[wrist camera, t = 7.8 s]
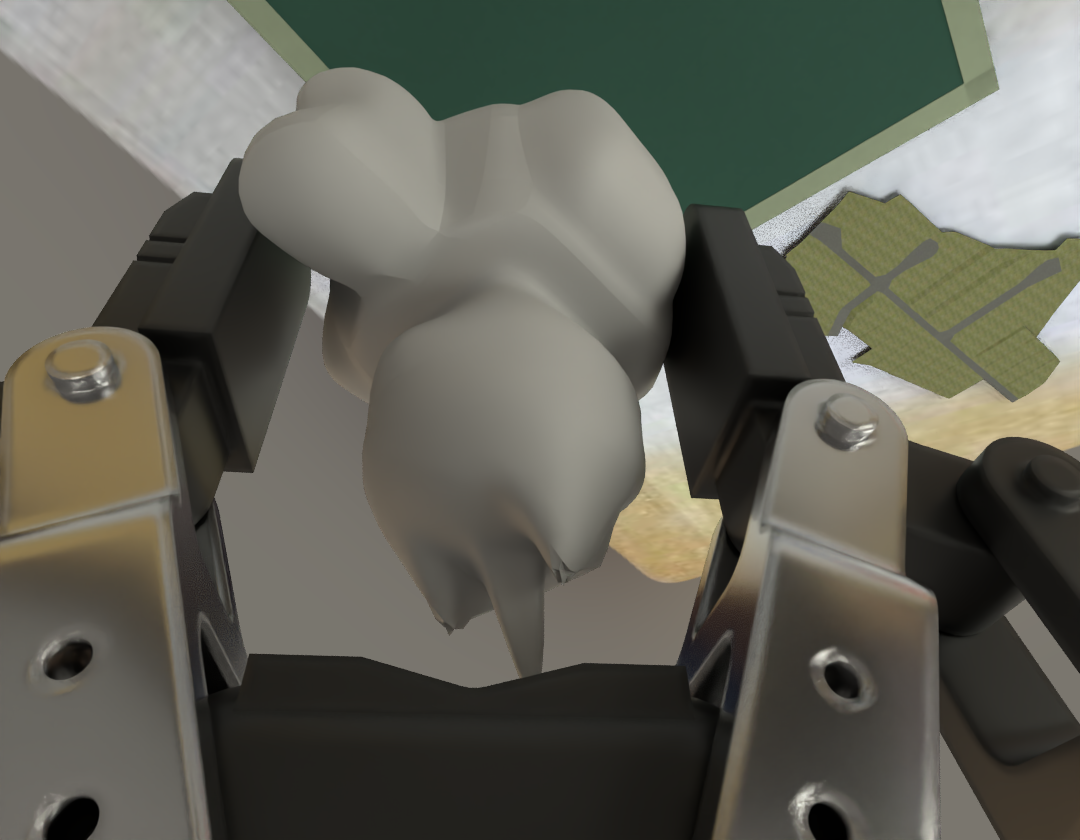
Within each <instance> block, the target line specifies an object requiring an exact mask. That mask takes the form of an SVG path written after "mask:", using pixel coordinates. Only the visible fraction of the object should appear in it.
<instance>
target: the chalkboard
mask: <svg viewBox="0 0 1080 840" xmlns="http://www.w3.org/2000/svg"><path fill="white" fill-rule="evenodd" d="M227 1H228V2H229V3H230V4H231V5H232V6H233V7H234V9H235V10H236V11H237V12H238V13H239V14H240V15H241V16H242V17H243V18H244V19H245V20H246V21H247V22H248V23H249V24H250V25H251V26H252V27H253V28H254V29H255V30H256V31H257V32H258V33H259V34H260V35H261V36H262V38H263V39H264V40H265V41H266V42H267V43H268V44H269V45H270V46H271V47H272V48H273V49H274V50H275V51H276V52H277V53H278V54H279V55H280V56H281V57H282V58H283V59H284V60H285V61H286V62H287V63H288V64H289V66H290V67H291V68H292V69H293V70H294V71H295V72H296V73H297V74H298V75H299V76H300V77H301V78H302V79H303V80H304V81H305V82H307V81H308V80H309V79H310V78H312V77H313V76H315V75H316V74H318V73H320V72H323V71H327V70H331V69H335V68H351V67H355V68H359V69H364V70H368V71H371V72H374V73H377V74H380V75H383V76H385V77H387V78H389V79H390V80H392V81H394V82H396V83H397V84H399V85H400V86H401V87H403V88H404V89H405V90H406V91H408V92H409V93H410V94H411V95H412V96H413V97H414V98H415V99H416V100H417V101H418V102H419V103H420V104H421V105H422V106H423V108H424V109H425V110H426V111H427V113H428V114H429V116H430V117H431V118H432V119H433V120H435V121H441V120H445V119H447V118H450V117H453V116H456V115H458V114H461V113H464V112H467V111H470V110H474V109H477V108H480V107H484V106H488V105H492V104H515V105H522V104H525V103H528V102H530V101H533V100H535V99H538V98H540V97H543V96H545V95H547V94H550V93H553V92H556V91H560V90H569V89H570V90H583V91H587V92H590V93H593V94H595V95H596V96H598V97H600V98H601V99H603V100H604V101H605V102H607V103H608V104H609V105H610V106H611V107H612V108H613V109H614V110H615V111H616V112H617V113H618V114H619V115H620V117H621V118H622V119H623V120H624V122H625V123H626V124H627V125H628V127H629V128H630V129H631V130H632V132H633V133H634V134H635V136H636V137H637V138H638V139H639V141H640V142H641V143H642V144H643V146H644V147H645V148H646V149H647V151H648V152H649V153H650V154H651V156H652V157H653V158H654V159H655V161H656V162H657V164H658V165H659V166H660V168H661V169H662V171H663V172H664V174H665V176H666V178H667V179H668V181H669V183H670V185H671V188H672V190H673V192H674V193H675V195H676V197H677V199H678V201H679V204H680V207H681V210H682V214H684V212H685V210H686V208H687V207H688V206H689V205H690V204H702V205H712V206H723V207H733V208H741V209H742V210H743V211H744V212H745V214H746V217H747V219H748V222H749V224H750V227H751V229H752V230H753V229H754V228H756V227H758V226H760V225H761V224H763V223H765V222H767V221H768V220H770V219H772V218H774V217H775V216H777V215H779V214H781V213H782V212H784V211H786V210H788V209H789V208H791V207H793V206H795V205H796V204H798V203H800V202H802V201H804V200H805V199H807V198H809V197H811V196H812V195H814V194H816V193H818V192H819V191H821V190H823V189H825V188H826V187H828V186H830V185H832V184H833V183H835V182H837V181H839V180H840V179H842V178H844V177H846V176H848V175H849V174H851V173H853V172H855V171H856V170H858V169H860V168H862V167H863V166H865V165H867V164H869V163H870V162H872V161H874V160H876V159H877V158H879V157H881V156H883V155H884V154H886V153H888V152H890V151H891V150H893V149H895V148H897V147H899V146H900V145H902V144H904V143H906V142H907V141H909V140H911V139H913V138H914V137H916V136H918V135H920V134H921V133H923V132H925V131H927V130H928V129H930V128H932V127H934V126H935V125H937V124H939V123H941V122H943V121H944V120H946V119H948V118H950V117H951V116H953V115H955V114H957V113H958V112H960V111H962V110H964V109H965V108H967V107H969V106H971V105H972V104H974V103H976V102H978V101H979V100H981V99H983V98H985V97H986V96H988V95H990V94H992V93H994V92H995V91H997V90H999V86H998V81H997V77H996V73H995V69H994V65H993V60H992V56H991V52H990V48H989V44H988V39H987V35H986V31H985V27H984V22H983V18H982V14H981V10H980V6H979V1H978V0H227Z"/></svg>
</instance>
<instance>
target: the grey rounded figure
mask: <svg viewBox="0 0 1080 840" xmlns="http://www.w3.org/2000/svg"><path fill="white" fill-rule="evenodd" d="M239 196H240V199H241V202H242V206H243V210H244V212H245V214H246V216H247V217H248V219H249V221H250V222H251V224H252V225H253V226H254V227H255V228H256V229H257V230H258V231H259V232H260V233H262V234H263V235H264V236H265V237H267V238H268V239H269V240H270V241H272V242H273V243H274V244H275V245H277V246H278V247H280V248H281V249H282V250H284V251H285V252H286V253H288V254H289V255H291V256H292V257H294V258H295V259H296V260H298V261H299V262H301V263H303V264H304V265H306V266H307V267H309V268H311V269H312V270H314V271H316V272H318V273H320V274H322V275H323V276H325V277H328V278H330V294H329V299H328V304H327V309H326V313H325V319H324V328H323V338H322V353H323V359H324V365H325V367H326V369H327V371H328V373H329V374H330V376H331V377H332V378H333V379H334V380H335V381H336V382H337V383H338V384H339V385H340V386H342V387H343V388H344V389H346V390H347V391H349V392H350V393H352V394H353V395H355V396H357V397H358V398H360V399H361V400H363V401H364V402H366V403H367V404H369V411H368V421H367V429H366V433H365V439H364V444H363V453H362V459H363V460H362V461H363V485H364V490H365V494H366V497H367V500H368V502H369V505H370V507H371V510H372V512H373V515H374V517H375V519H376V521H377V523H378V526H379V527H380V529H381V531H382V533H383V535H384V536H385V538H386V539H387V541H388V543H389V544H390V546H391V548H392V549H393V550H394V552H395V553H396V555H397V556H398V558H399V559H400V561H401V562H402V564H403V565H404V567H405V568H406V570H407V571H408V573H409V575H410V576H411V578H412V579H413V581H414V582H415V584H416V585H417V587H418V588H419V590H420V591H421V593H422V594H423V595H424V597H425V598H426V600H427V602H428V604H429V606H430V608H431V610H432V613H433V615H434V617H435V619H436V620H437V621H439V622H440V623H441V624H442V625H443V626H444V627H446V629H447V631H448V634H449V635H450V634H451V633H452V631H453V630H454V629H463V628H464V627H465V626H466V624H467V623H468V622H469V620H470V619H472V618H475V617H477V616H480V615H482V614H485V613H487V612H489V611H492V610H495V613H496V615H497V618H498V621H499V624H500V627H501V629H502V632H503V635H504V638H505V641H506V644H507V646H508V649H509V652H510V655H511V657H512V660H513V662H514V665H515V668H516V670H517V673H518V676H519V678H524V677H528V676H532V675H536V674H541V671H542V662H543V647H544V592H547V591H549V590H551V589H553V588H555V587H558V586H559V585H562V584H563V585H564V583H566V582H568V581H571V580H573V579H575V578H578V577H580V576H582V575H585V574H586V573H589V572H590V571H592V570H594V569H596V568H598V567H599V566H601V564H602V561H603V559H604V557H605V554H606V552H607V549H608V546H609V542H610V538H611V535H612V531H613V527H614V525H615V523H616V520H617V518H618V516H619V513H620V512H621V511H622V510H624V509H625V508H626V507H627V506H628V505H629V504H630V503H631V502H632V501H633V500H634V499H635V498H636V496H637V495H638V494H639V492H640V490H641V487H642V485H643V482H644V478H645V453H644V446H643V437H642V427H641V410H640V406H639V401H638V400H640V399H641V398H642V397H644V396H645V395H646V394H647V393H648V392H649V391H650V389H651V388H652V387H653V385H654V383H655V381H656V379H657V377H658V374H659V372H660V370H661V368H662V365H663V362H664V360H665V357H666V354H667V352H668V349H669V345H670V340H671V336H672V322H673V299H674V296H675V294H676V292H677V290H678V287H679V284H680V282H681V279H682V275H683V271H684V265H685V256H686V236H685V225H684V219H683V214H682V210H681V207H680V204H679V201H678V199H677V197H676V195H675V193H674V192H673V190H672V188H671V185H670V183H669V181H668V179H667V178H666V176H665V174H664V172H663V171H662V169H661V168H660V166H659V165H658V164H657V162H656V161H655V159H654V158H653V157H652V156H651V154H650V153H649V152H648V151H647V149H646V148H645V147H644V146H643V144H642V143H641V142H640V141H639V139H638V138H637V137H636V136H635V134H634V133H633V132H632V130H631V129H630V128H629V127H628V125H627V124H626V123H625V122H624V120H623V119H622V118H621V117H620V115H619V114H618V113H617V112H616V111H615V110H614V109H613V108H612V107H611V106H610V105H609V104H608V103H607V102H605V101H604V100H603V99H601V98H600V97H598V96H596V95H595V94H593V93H590V92H587V91H583V90H570V89H569V90H560V91H556V92H553V93H550V94H547V95H545V96H543V97H540V98H538V99H535V100H533V101H530V102H528V103H525V104H522V105H515V104H492V105H488V106H484V107H480V108H477V109H474V110H470V111H467V112H464V113H461V114H458V115H456V116H453V117H450V118H447V119H445V120H441V121H435V120H433V119H432V118H431V117H430V116H429V114H428V113H427V111H426V110H425V109H424V108H423V106H422V105H421V104H420V103H419V102H418V101H417V100H416V99H415V98H414V97H413V96H412V95H411V94H410V93H409V92H408V91H406V90H405V89H404V88H403V87H401V86H400V85H399V84H397V83H396V82H394V81H392V80H390V79H389V78H387V77H385V76H383V75H380V74H377V73H374V72H371V71H368V70H364V69H359V68H355V67H351V68H335V69H331V70H327V71H323V72H320V73H318V74H316V75H315V76H313V77H312V78H310V79H309V80H308V81H307V82H306V83H305V84H304V85H303V87H302V88H301V89H300V91H299V93H298V96H297V105H296V111H295V112H292V113H289V114H286V115H284V116H281V117H278V118H275V119H274V120H273V121H271V122H270V123H269V124H267V125H266V126H265V127H263V128H262V129H261V130H260V131H259V132H258V133H257V134H256V135H255V136H254V137H253V139H252V141H251V143H250V144H249V146H248V148H247V150H246V151H245V154H244V158H243V162H242V166H241V170H240V175H239Z"/></svg>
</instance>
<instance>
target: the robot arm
mask: <svg viewBox="0 0 1080 840" xmlns="http://www.w3.org/2000/svg"><path fill="white" fill-rule="evenodd" d="M242 162H243V159H241V158H234V159H232V160H231V162H230V163H229V165H228V167H227V169H226V170H225V172H224V174H223V176H222V178H221V179H220V181H219V183H218V185H217V186H216V188H215V190H214V192H213V194H212V193H201V192H193V193H191V194H190V195H188V196H187V197H185V198H184V199H182V200H181V201H179V202H178V203H176V204H175V205H173V206H172V207H170V208H169V209H167V210H166V211H164V213H163V214H162V216H161V218H160V219H159V221H158V222H157V224H156V225H155V227H154V229H153V230H152V232H151V234H150V235H149V237H150V240H149V241H148V240H146V241H145V243H144V244H143V246H142V248H141V249H140V251H139V252H138V254H137V261H133V262H132V264H131V265H130V267H129V268H128V270H127V272H126V273H125V275H124V276H123V278H122V279H121V281H120V283H119V284H118V286H117V287H116V289H115V291H114V292H113V294H112V295H111V297H110V298H109V300H108V302H107V303H106V305H105V306H104V308H103V309H102V311H101V313H100V314H99V316H98V318H97V319H96V321H95V322H94V324H93V326H92V327H89V328H81V329H76V330H71V331H68V332H64V333H61V334H58V335H55V336H53V337H51V338H48V339H46V340H44V341H42V342H40V343H38V344H36V345H35V346H33V347H32V348H30V349H29V350H27V351H26V352H25V353H23V354H22V355H21V356H20V357H19V358H18V359H17V360H16V361H15V362H14V363H13V365H12V366H11V367H10V369H9V371H8V373H7V375H6V377H5V381H3V382H0V840H941V826H940V825H941V822H940V821H941V820H940V733H941V735H942V737H943V738H944V740H945V742H946V744H947V746H948V747H949V749H950V751H951V753H952V754H953V756H954V758H955V759H956V762H957V763H958V765H959V767H960V769H961V771H962V772H963V774H964V776H965V778H966V779H967V781H968V783H969V785H970V787H971V788H972V790H973V792H974V794H975V795H976V797H977V799H978V801H979V803H980V804H981V806H982V808H983V810H984V812H985V813H986V815H987V817H988V819H989V820H990V822H991V824H992V826H993V828H994V829H995V831H996V833H997V835H998V837H999V838H1000V840H1080V724H1079V722H1078V721H1077V720H1076V718H1075V717H1074V715H1073V714H1072V713H1071V711H1070V710H1069V708H1068V707H1067V705H1066V704H1065V703H1064V701H1063V700H1062V698H1061V697H1060V695H1059V694H1058V692H1057V691H1056V689H1055V688H1054V686H1053V685H1052V684H1051V682H1050V681H1049V679H1048V678H1047V676H1046V675H1045V674H1044V672H1043V671H1042V669H1041V668H1040V666H1039V665H1038V663H1037V662H1036V660H1035V659H1034V658H1033V656H1032V655H1031V653H1030V652H1029V650H1028V649H1027V647H1026V646H1025V645H1024V643H1023V642H1022V640H1021V639H1020V638H1019V636H1018V635H1017V633H1016V631H1015V630H1014V629H1013V627H1012V626H1011V624H1010V623H1009V621H1008V620H1007V618H1006V617H1005V616H1004V615H1005V614H1006V613H1008V612H1009V611H1010V610H1012V609H1013V608H1014V607H1015V606H1017V605H1018V604H1019V603H1021V602H1022V601H1023V600H1025V599H1026V600H1027V601H1028V603H1029V604H1030V606H1031V607H1032V608H1033V609H1034V611H1035V612H1036V614H1037V615H1038V617H1039V618H1040V619H1041V621H1042V622H1043V624H1044V625H1045V626H1046V628H1047V629H1048V630H1049V632H1050V633H1051V635H1052V636H1053V637H1054V639H1055V640H1056V641H1057V643H1058V644H1059V646H1060V647H1061V648H1062V650H1063V651H1064V652H1065V654H1066V655H1067V657H1068V658H1069V659H1070V661H1071V662H1072V664H1073V665H1074V666H1075V668H1076V669H1077V671H1078V672H1079V673H1080V462H1079V461H1077V460H1076V459H1075V458H1073V457H1072V456H1070V455H1068V454H1067V453H1065V452H1063V451H1061V450H1059V449H1057V448H1055V447H1053V446H1051V445H1048V444H1046V443H1043V442H1040V441H1037V440H1032V439H1028V438H1021V437H1006V438H1001V439H998V440H996V441H993V442H992V443H991V444H990V445H988V446H987V447H986V449H985V450H984V451H983V452H982V453H981V454H980V455H979V456H978V457H977V458H976V459H975V461H971V460H968V459H965V458H962V457H958V456H955V455H952V454H949V453H946V452H942V451H939V450H936V449H933V448H930V447H927V446H923V445H920V444H917V443H914V442H912V441H909V440H908V436H907V433H906V430H905V427H904V425H903V423H902V422H901V420H900V419H899V417H898V416H897V415H896V413H895V412H894V411H893V410H892V409H891V408H890V407H889V406H888V405H887V404H886V403H884V402H883V401H882V400H881V399H879V398H878V397H876V396H875V395H873V394H872V393H870V392H868V391H866V390H864V389H862V388H860V387H858V386H855V385H853V384H850V383H846V382H845V379H844V377H843V375H842V373H841V370H840V368H839V366H838V364H837V361H836V359H835V357H834V355H833V353H832V350H831V348H830V346H829V344H828V341H827V339H826V337H825V335H824V333H823V330H822V328H821V326H820V324H819V321H818V319H817V318H814V313H815V312H814V310H813V308H812V306H811V304H810V301H809V299H808V298H806V297H805V293H806V292H805V290H804V288H803V286H802V284H801V281H800V279H799V277H798V275H797V272H796V270H795V268H794V267H793V266H792V265H791V264H790V263H788V262H787V261H786V260H785V259H784V258H783V257H782V256H781V255H780V254H779V253H778V252H777V251H776V250H775V249H774V248H773V247H772V246H764V245H758V244H757V242H756V239H755V237H754V234H753V232H752V229H751V227H750V224H749V222H748V219H747V217H746V214H745V212H744V211H743V210H742V209H741V208H733V207H723V206H712V205H702V204H690V205H689V206H688V207H687V208H686V210H685V212H684V214H683V219H684V225H685V236H686V256H685V265H684V271H683V275H682V279H681V282H680V284H679V287H678V290H677V292H676V294H675V296H674V299H673V322H672V336H671V340H670V345H669V349H668V352H667V354H666V357H665V360H664V362H663V363H664V368H665V373H666V378H667V383H668V387H669V392H670V397H671V402H672V407H673V412H674V417H675V422H676V427H677V431H678V436H679V441H680V446H681V451H682V456H683V461H684V466H685V471H686V475H687V480H688V485H689V490H690V495H691V498H703V499H719V502H720V506H721V510H722V517H721V518H720V520H719V522H718V524H717V526H716V528H715V530H714V533H713V536H712V539H711V543H710V547H709V551H708V554H707V558H706V562H705V565H704V569H703V573H702V577H701V580H700V584H699V588H698V592H697V596H696V599H695V603H694V607H693V611H692V614H691V618H690V622H689V626H688V629H687V633H686V636H685V640H684V643H683V647H682V650H681V652H680V655H679V658H678V661H677V663H676V665H675V666H668V665H634V664H630V665H629V664H598V663H582V664H578V665H574V666H570V667H566V668H561V669H557V670H553V671H549V672H545V673H541V674H536V675H532V676H528V677H524V678H520V679H516V680H511V681H507V682H503V683H499V684H495V685H491V686H487V687H482V688H468V687H463V686H459V685H456V684H452V683H449V682H445V681H442V680H439V679H435V678H432V677H428V676H425V675H422V674H418V673H415V672H411V671H408V670H405V669H401V668H398V667H395V666H391V665H388V664H384V663H381V662H378V661H374V660H371V659H367V658H363V657H348V656H313V655H277V654H276V655H275V654H249V657H247V654H246V650H245V647H244V643H243V639H242V635H241V630H240V625H239V620H238V614H237V609H236V603H235V598H234V592H233V587H232V581H231V576H230V571H229V565H228V559H227V553H226V548H225V543H224V537H223V531H222V526H221V520H220V514H219V510H218V507H217V503H216V501H215V498H214V496H215V493H216V490H217V488H218V485H219V481H220V479H221V476H222V473H223V471H226V472H246V473H253V472H254V469H255V466H256V463H257V460H258V457H259V453H260V450H261V447H262V444H263V441H264V438H265V435H266V432H267V429H268V425H269V422H270V419H271V416H272V413H273V410H274V407H275V404H276V401H277V397H278V394H279V391H280V388H281V385H282V382H283V378H284V375H285V372H286V369H287V366H288V363H289V360H290V357H291V354H292V351H293V348H294V344H295V341H296V338H297V335H298V331H299V328H300V325H301V322H302V320H303V316H304V313H305V310H306V307H307V304H308V300H309V295H310V286H311V268H309V267H307V266H306V265H304V264H303V263H301V262H299V261H298V260H296V259H295V258H294V257H292V256H291V255H289V254H288V253H286V252H285V251H284V250H282V249H281V248H280V247H278V246H277V245H275V244H274V243H273V242H272V241H270V240H269V239H268V238H267V237H265V236H264V235H263V234H262V233H260V232H259V231H258V230H257V229H256V228H255V227H254V226H253V225H252V224H251V222H250V221H249V219H248V217H247V216H246V214H245V212H244V210H243V206H242V202H241V199H240V196H239V175H240V170H241V166H242Z"/></svg>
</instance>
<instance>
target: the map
mask: <svg viewBox="0 0 1080 840" xmlns="http://www.w3.org/2000/svg"><path fill="white" fill-rule="evenodd" d="M786 256H787V258H786V259H785V260H786V261H787V262H788V263H790V264H791V265H792V266H793V267H794V268H795V270H796V272H797V275H798V277H799V279H800V281H801V284H802V286H803V288H804V290H805V292H806V293H805V297H806V298H808V299H809V301H810V304H811V306H812V308H813V310H814V312H815V313H814V318H817V319H818V321H819V324H820V326H821V328H822V330H823V333H824V335H825V336H838V334H839V332H840V330H841V328H842V327H844V328H845V329H847V330H849V331H850V332H851V333H853V334H854V335H856V336H857V337H858V338H859V339H860V340H862V341H863V342H864V343H866V344H867V345H868V346H870V347H871V348H872V349H871V350H869V351H868V352H866V353H865V354H863V355H862V356H860V357H859V358H857V359H856V360H854V361H853V363H859V364H865V365H871V366H873V367H876V368H878V369H880V370H883V371H885V372H888V373H889V374H891V375H894V376H896V377H899V378H901V379H904V380H905V381H908V382H910V383H913V384H916V385H918V386H920V387H922V388H925V389H927V390H930V391H932V392H934V393H936V394H939V395H941V396H944V397H946V398H951V397H953V396H955V395H957V394H958V393H960V392H962V391H964V390H965V389H967V388H969V387H971V386H972V385H974V384H976V383H978V382H979V381H981V380H983V379H984V380H986V381H987V382H988V383H989V384H990V385H992V386H993V387H994V388H995V389H996V390H998V391H999V392H1000V393H1001V394H1002V395H1004V396H1005V397H1006V398H1007V399H1008V400H1010V401H1011V402H1014V401H1016V400H1018V399H1020V398H1022V397H1024V396H1026V395H1027V394H1029V393H1030V392H1032V391H1033V390H1035V389H1036V388H1038V387H1039V386H1041V385H1042V384H1043V383H1044V382H1045V381H1046V380H1047V378H1048V377H1049V376H1050V374H1051V373H1052V372H1053V370H1054V369H1055V368H1056V366H1057V365H1058V364H1059V362H1060V361H1059V360H1058V358H1057V357H1056V356H1055V355H1054V354H1053V353H1052V352H1051V351H1050V350H1048V349H1047V347H1046V346H1044V345H1043V344H1042V343H1041V342H1040V341H1039V340H1038V339H1037V338H1036V337H1037V335H1038V334H1039V333H1040V331H1041V330H1042V329H1043V327H1044V326H1045V324H1046V323H1047V322H1048V320H1049V319H1050V318H1051V316H1052V315H1053V313H1054V312H1055V311H1056V310H1057V308H1058V307H1059V306H1060V305H1061V303H1062V302H1063V301H1064V300H1065V298H1066V297H1067V296H1068V294H1069V293H1070V292H1071V291H1072V290H1073V288H1074V287H1075V286H1076V285H1077V283H1078V282H1079V281H1080V239H1069V238H1067V239H1066V240H1065V241H1064V242H1063V243H1062V244H1061V245H1060V246H1059V247H1058V248H1057V249H1056V250H1022V249H994V248H993V247H991V246H989V245H987V244H984V243H982V242H979V241H977V240H974V239H972V238H969V237H967V236H964V235H962V234H960V233H957V232H941V231H940V230H939V229H938V228H937V227H936V226H934V225H933V224H932V223H931V222H930V221H929V220H928V219H927V218H926V217H925V216H924V215H923V214H922V213H920V212H919V211H918V210H917V209H916V208H915V207H914V206H913V205H912V204H911V203H910V202H909V201H907V200H906V199H905V198H904V197H903V196H902V195H901V194H900V195H898V196H897V197H895V198H893V199H891V200H890V201H888V202H886V203H883V202H880V201H877V200H873V199H870V198H867V197H864V196H861V195H858V194H855V193H852V192H848V193H847V194H846V196H845V197H844V198H843V200H842V201H841V202H840V203H839V204H838V205H837V206H836V207H835V208H834V209H833V210H832V212H831V213H830V214H829V215H828V216H827V217H826V218H825V219H824V220H823V221H822V222H821V223H820V224H819V225H818V226H817V227H816V228H815V229H814V230H813V231H812V232H811V233H810V234H809V235H808V236H807V237H806V238H805V239H804V240H803V241H802V242H801V243H800V244H799V245H797V246H796V247H795V248H794V249H792V250H791V251H790V252H789V253H788V254H786ZM1033 334H1034V335H1035V336H1036V337H1035V336H1034V335H1033Z"/></svg>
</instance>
